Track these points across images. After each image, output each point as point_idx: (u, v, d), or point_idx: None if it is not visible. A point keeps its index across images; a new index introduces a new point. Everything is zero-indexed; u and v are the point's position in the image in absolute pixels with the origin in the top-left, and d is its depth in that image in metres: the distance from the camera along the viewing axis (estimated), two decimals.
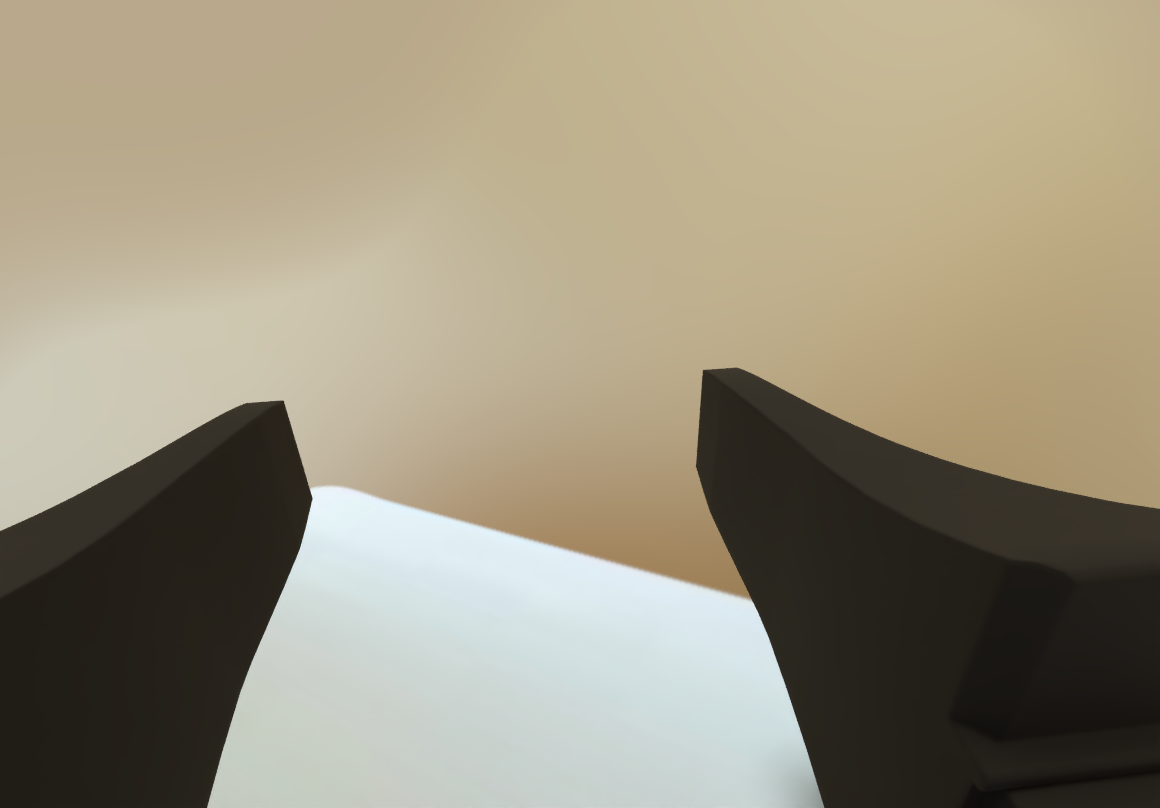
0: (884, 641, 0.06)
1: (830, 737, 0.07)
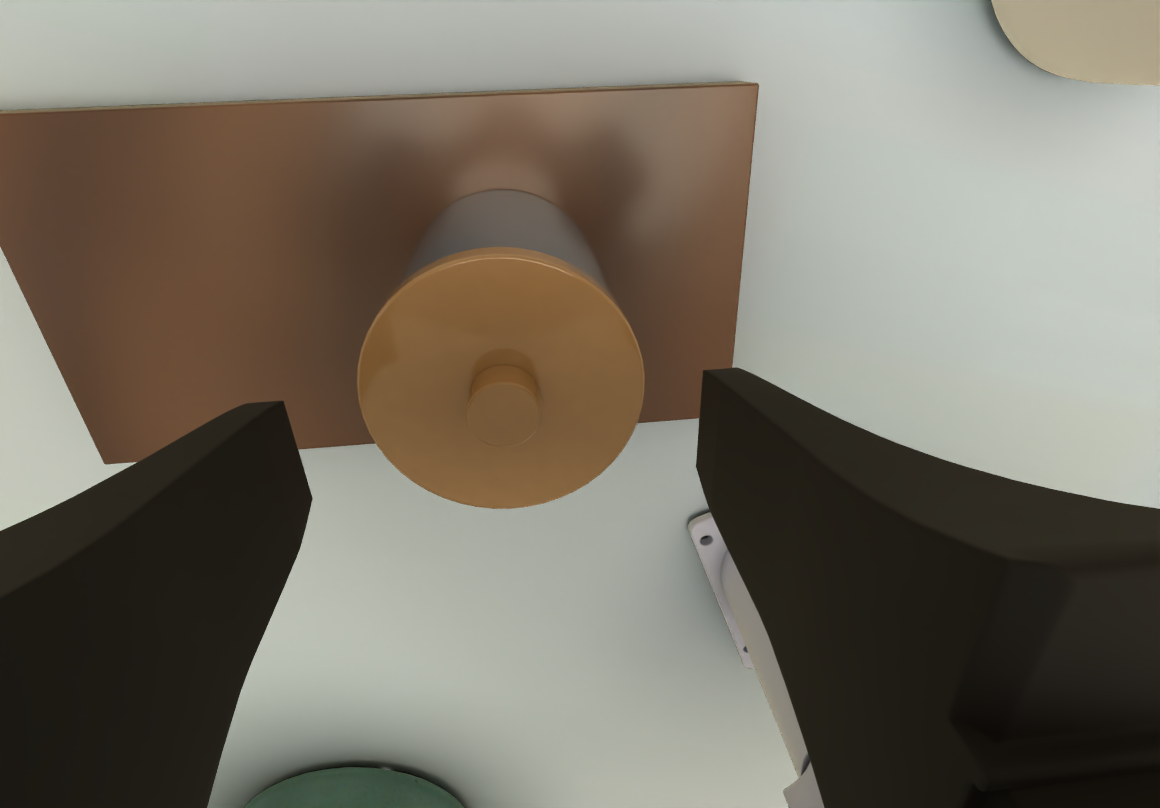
0: (884, 641, 0.06)
1: (830, 737, 0.07)
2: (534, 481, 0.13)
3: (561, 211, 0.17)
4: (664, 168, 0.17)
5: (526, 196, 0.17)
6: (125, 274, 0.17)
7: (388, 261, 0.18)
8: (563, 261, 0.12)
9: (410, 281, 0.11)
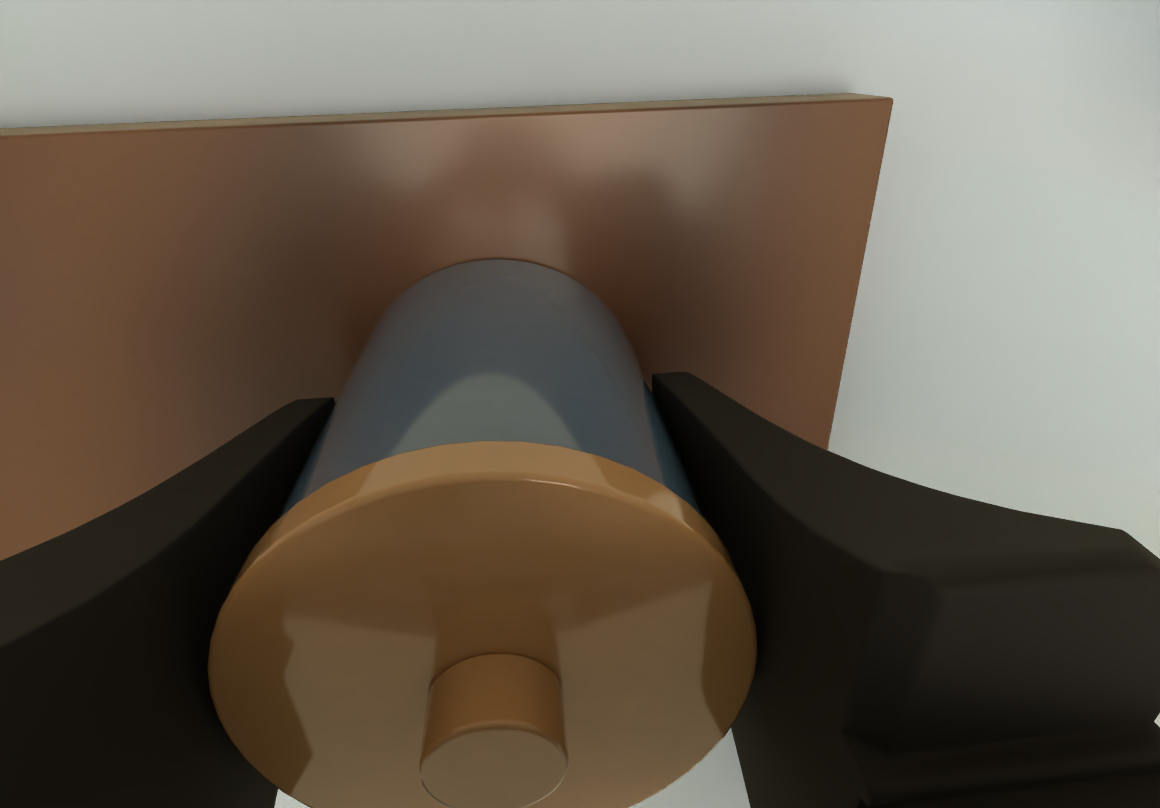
0: (793, 651, 0.06)
1: (756, 746, 0.07)
2: (550, 805, 0.08)
3: (586, 291, 0.11)
4: (742, 224, 0.11)
5: (533, 271, 0.11)
6: None
7: (327, 362, 0.12)
8: (612, 463, 0.06)
9: (299, 524, 0.05)
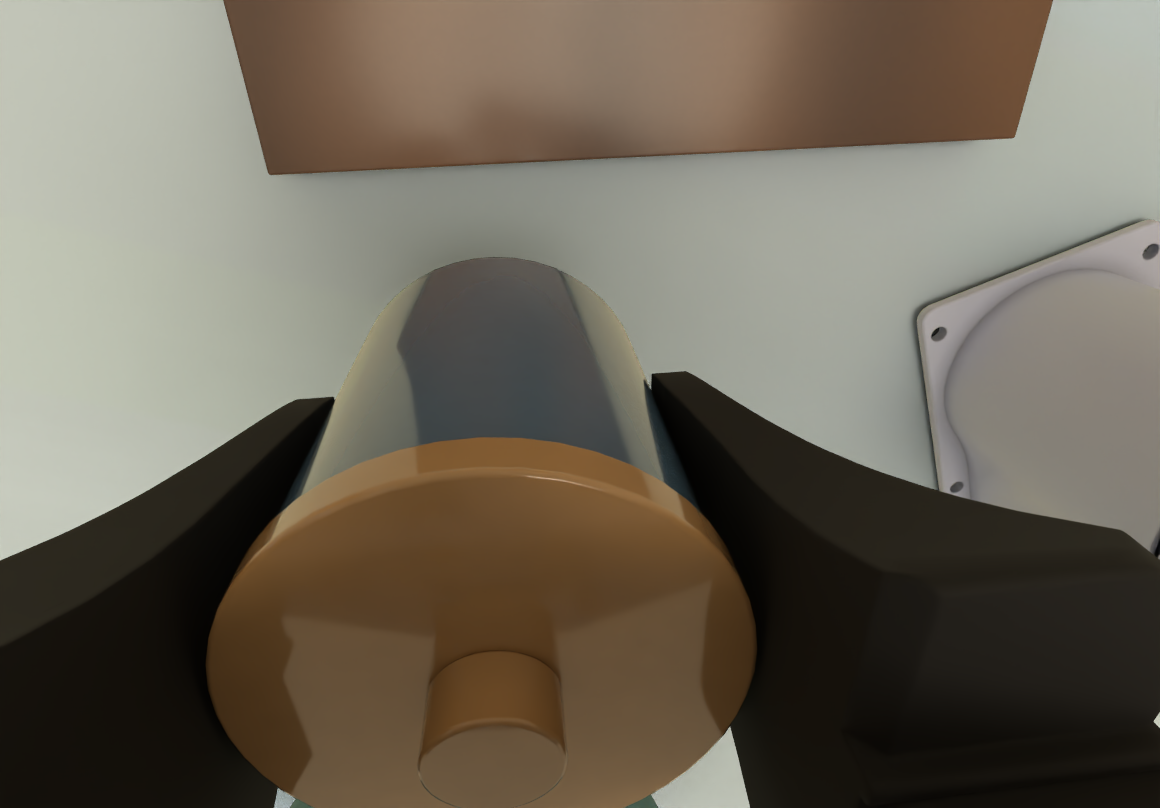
0: (792, 651, 0.06)
1: (755, 746, 0.07)
2: (549, 803, 0.08)
3: (585, 289, 0.11)
4: None
5: (533, 269, 0.11)
6: None
7: None
8: (612, 460, 0.06)
9: (297, 520, 0.05)
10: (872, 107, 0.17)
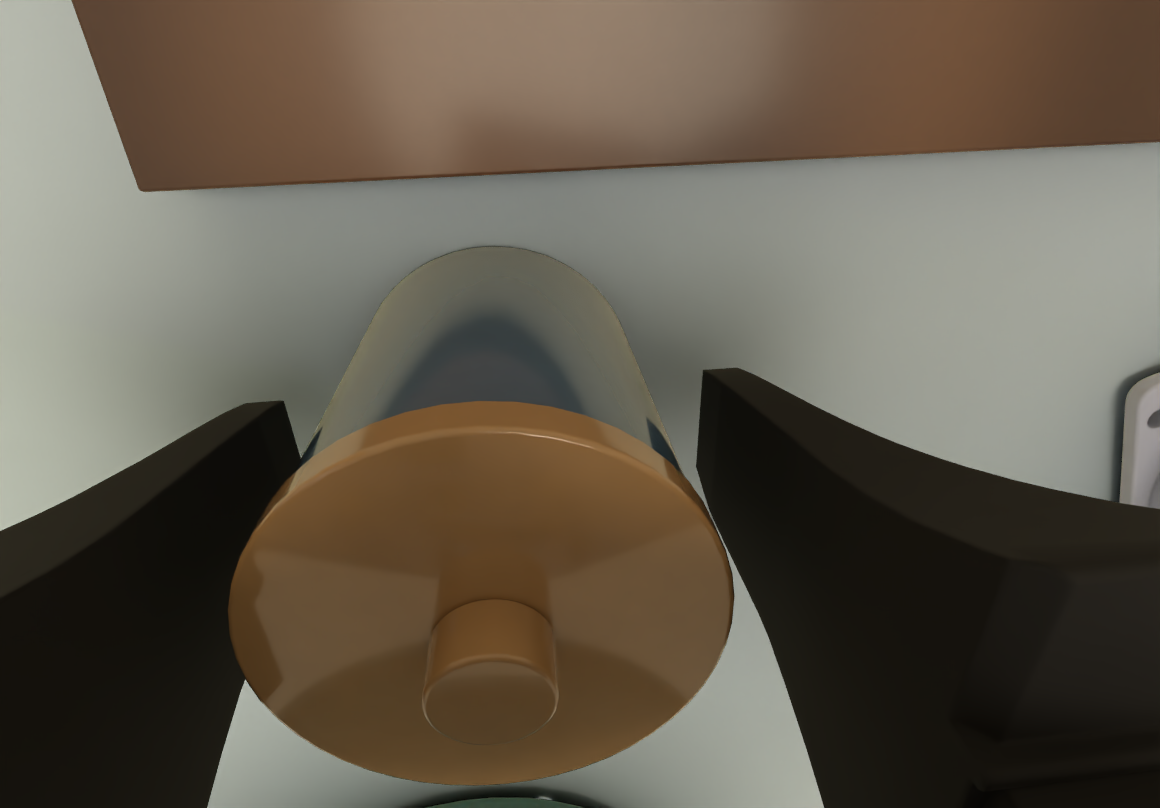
0: (884, 641, 0.06)
1: (830, 737, 0.07)
2: (543, 750, 0.08)
3: (579, 276, 0.12)
4: None
5: (528, 257, 0.11)
6: None
7: None
8: (598, 422, 0.06)
9: (313, 474, 0.06)
10: (1150, 80, 0.10)
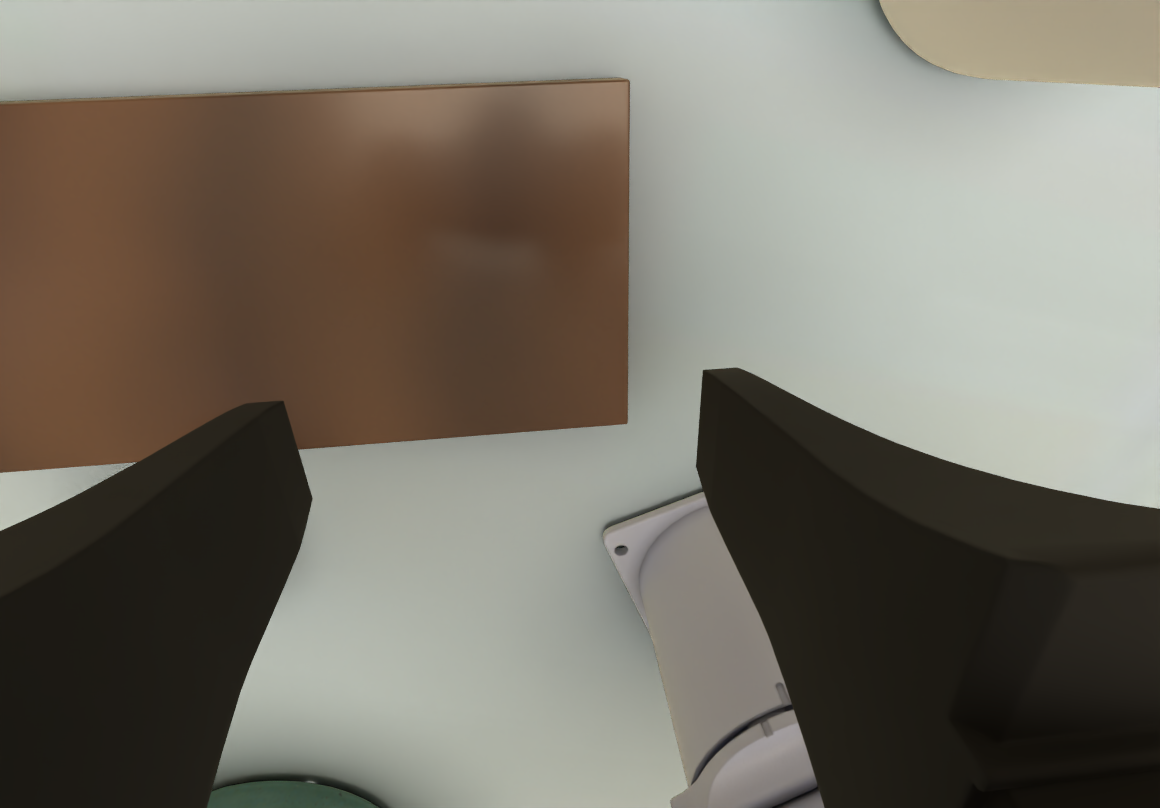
0: (884, 641, 0.06)
1: (830, 737, 0.07)
2: None
3: None
4: (537, 167, 0.16)
5: None
6: None
7: (253, 265, 0.17)
8: None
9: None
10: (493, 409, 0.20)
